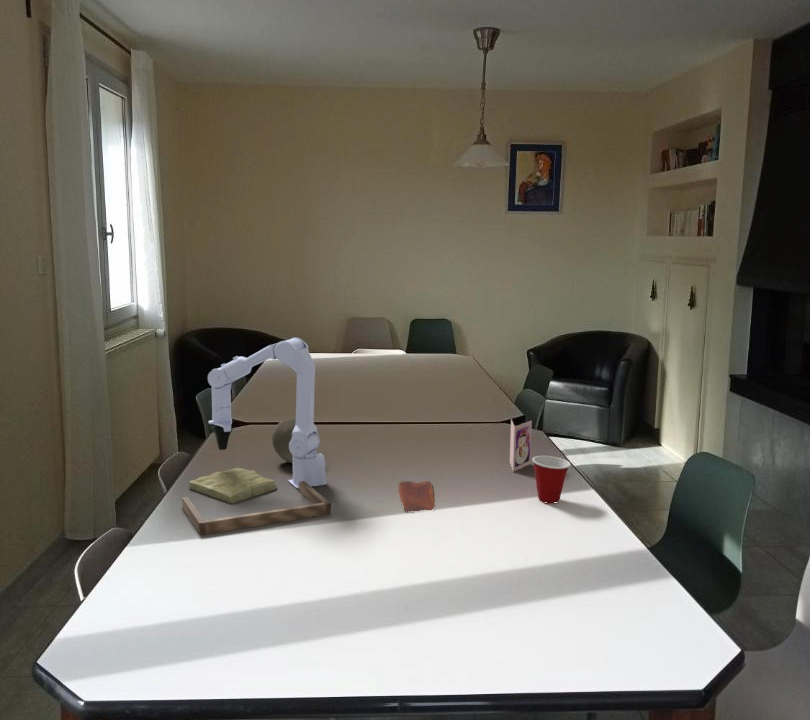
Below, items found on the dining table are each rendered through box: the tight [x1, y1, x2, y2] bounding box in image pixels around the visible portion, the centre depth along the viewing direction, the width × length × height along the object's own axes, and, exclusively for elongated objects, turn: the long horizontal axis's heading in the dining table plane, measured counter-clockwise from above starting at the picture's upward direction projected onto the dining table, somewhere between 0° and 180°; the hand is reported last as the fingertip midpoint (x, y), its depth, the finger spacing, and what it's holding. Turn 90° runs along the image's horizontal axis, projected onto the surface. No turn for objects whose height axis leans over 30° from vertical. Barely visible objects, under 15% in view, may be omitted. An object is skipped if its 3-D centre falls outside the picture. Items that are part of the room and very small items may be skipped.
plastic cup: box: [531, 455, 572, 504], centre depth 222 cm, size 11×11×12 cm
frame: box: [181, 481, 332, 536], centre depth 211 cm, size 35×22×3 cm, turn 117°
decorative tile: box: [188, 467, 278, 504], centre depth 230 cm, size 18×20×4 cm
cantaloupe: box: [271, 418, 296, 465], centre depth 255 cm, size 14×14×15 cm
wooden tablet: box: [398, 480, 436, 512], centre depth 225 cm, size 27×10×2 cm, turn 1°
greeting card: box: [509, 418, 533, 473], centre depth 254 cm, size 11×7×15 cm, turn 143°
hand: (222, 449), depth 242 cm, fingers closed
